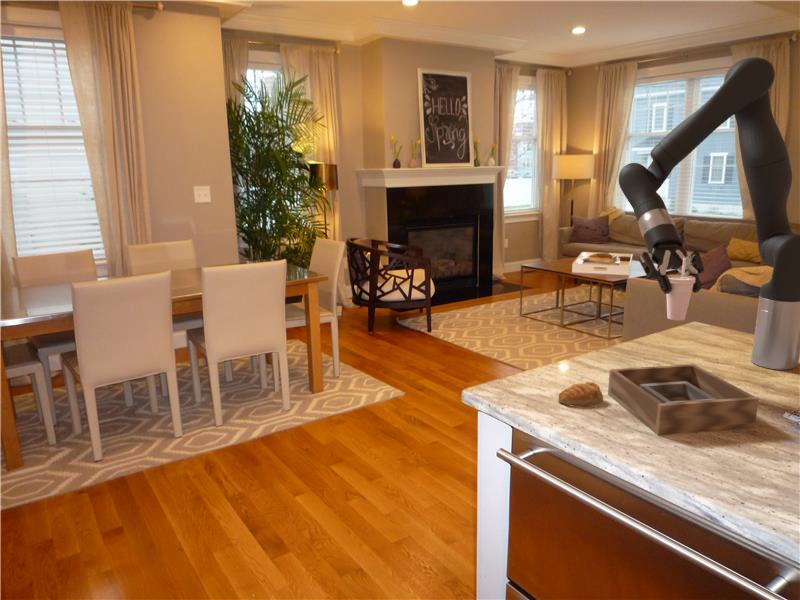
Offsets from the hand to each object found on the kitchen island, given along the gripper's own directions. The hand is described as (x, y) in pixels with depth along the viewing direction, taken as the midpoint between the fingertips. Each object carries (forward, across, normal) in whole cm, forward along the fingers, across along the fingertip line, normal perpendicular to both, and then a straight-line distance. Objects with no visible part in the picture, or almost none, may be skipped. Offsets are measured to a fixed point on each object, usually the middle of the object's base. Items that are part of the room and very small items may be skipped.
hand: (683, 291), depth 130 cm
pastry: (+20, -25, +12) cm, 34 cm away
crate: (+25, -8, +6) cm, 27 cm away
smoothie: (+4, 0, +6) cm, 7 cm away
